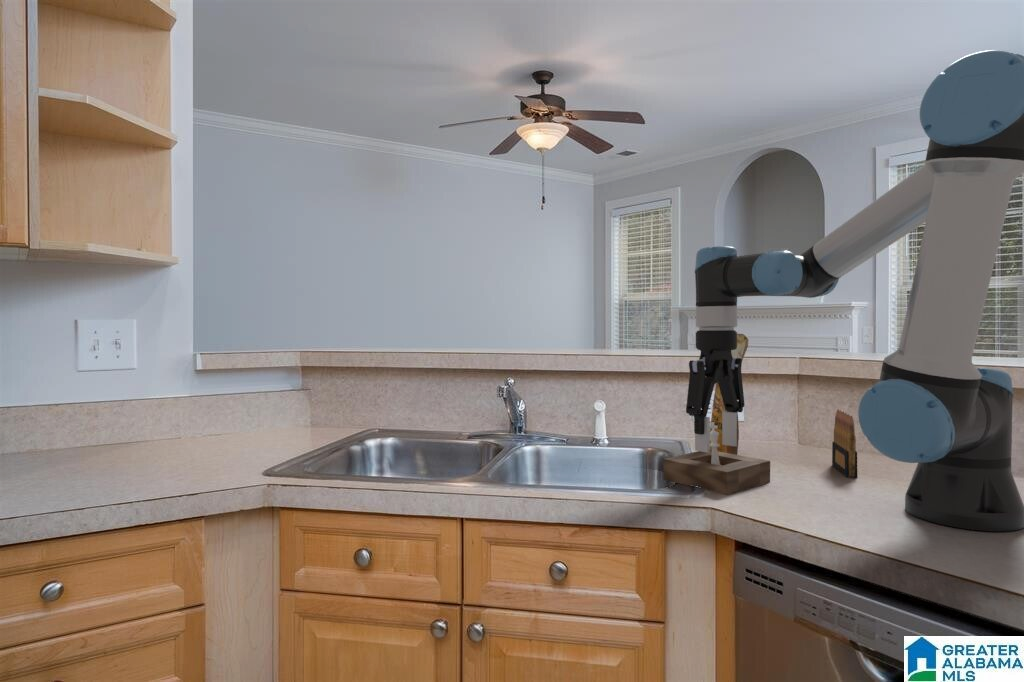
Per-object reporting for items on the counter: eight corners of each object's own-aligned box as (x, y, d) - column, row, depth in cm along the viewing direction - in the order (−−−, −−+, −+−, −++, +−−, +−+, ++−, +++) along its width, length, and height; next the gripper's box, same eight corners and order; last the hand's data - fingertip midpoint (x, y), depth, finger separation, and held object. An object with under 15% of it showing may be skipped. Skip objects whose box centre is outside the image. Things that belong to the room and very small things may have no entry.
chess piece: (731, 477, 117) (727, 423, 117) (703, 477, 118) (700, 424, 118) (728, 471, 122) (724, 420, 122) (701, 472, 123) (698, 421, 123)
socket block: (770, 481, 119) (770, 460, 119) (727, 494, 110) (727, 472, 110) (706, 468, 130) (706, 449, 130) (663, 479, 121) (663, 458, 121)
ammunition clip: (831, 465, 132) (832, 408, 132) (841, 465, 132) (841, 408, 131) (847, 477, 122) (847, 416, 121) (857, 478, 121) (857, 416, 121)
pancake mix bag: (734, 445, 153) (734, 331, 152) (749, 463, 134) (749, 332, 134) (705, 445, 154) (705, 331, 154) (717, 462, 136) (716, 332, 135)
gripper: (730, 328, 129) (730, 438, 129) (665, 329, 116) (665, 452, 116) (764, 328, 123) (764, 444, 123) (699, 330, 110) (699, 459, 111)
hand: (716, 448), depth 120 cm, fingers open, 8 cm apart
